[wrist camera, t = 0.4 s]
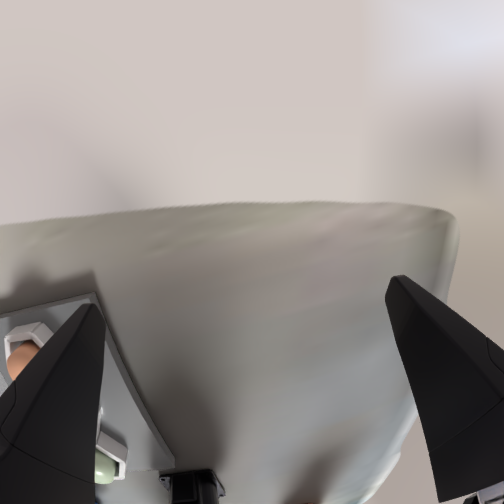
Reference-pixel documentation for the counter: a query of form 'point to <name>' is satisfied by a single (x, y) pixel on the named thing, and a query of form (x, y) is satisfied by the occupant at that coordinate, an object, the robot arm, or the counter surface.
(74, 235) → the counter surface
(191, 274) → the counter surface
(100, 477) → the sage button
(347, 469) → the counter surface
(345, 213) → the counter surface
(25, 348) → the terracotta button
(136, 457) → the button panel
